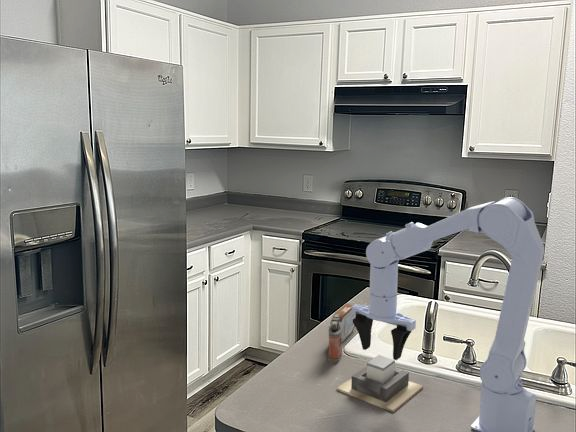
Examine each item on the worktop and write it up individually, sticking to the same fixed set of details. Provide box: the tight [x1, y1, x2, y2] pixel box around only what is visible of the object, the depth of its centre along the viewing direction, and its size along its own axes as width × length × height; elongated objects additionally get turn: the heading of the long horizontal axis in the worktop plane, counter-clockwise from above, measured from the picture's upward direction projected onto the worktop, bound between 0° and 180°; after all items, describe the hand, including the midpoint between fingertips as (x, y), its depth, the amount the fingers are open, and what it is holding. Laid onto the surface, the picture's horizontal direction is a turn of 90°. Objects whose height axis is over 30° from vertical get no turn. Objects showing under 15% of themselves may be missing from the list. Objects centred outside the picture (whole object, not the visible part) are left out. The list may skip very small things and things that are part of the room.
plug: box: [366, 354, 396, 384], centre depth 117 cm, size 4×5×6 cm
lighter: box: [327, 313, 343, 364], centre depth 133 cm, size 8×3×10 cm, turn 168°
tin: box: [329, 302, 356, 343], centre depth 144 cm, size 15×3×8 cm, turn 153°
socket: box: [336, 365, 424, 414], centre depth 117 cm, size 14×13×4 cm
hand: (381, 353), depth 116 cm, fingers open, 7 cm apart
